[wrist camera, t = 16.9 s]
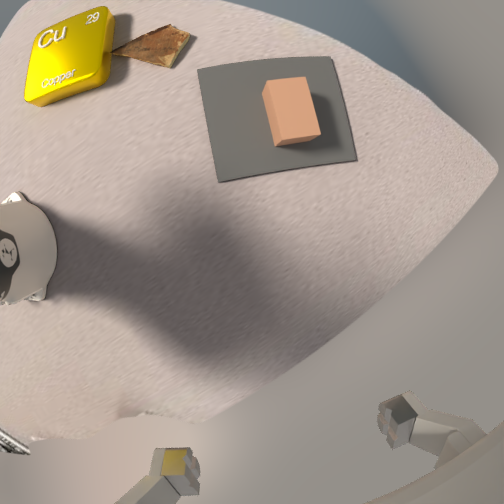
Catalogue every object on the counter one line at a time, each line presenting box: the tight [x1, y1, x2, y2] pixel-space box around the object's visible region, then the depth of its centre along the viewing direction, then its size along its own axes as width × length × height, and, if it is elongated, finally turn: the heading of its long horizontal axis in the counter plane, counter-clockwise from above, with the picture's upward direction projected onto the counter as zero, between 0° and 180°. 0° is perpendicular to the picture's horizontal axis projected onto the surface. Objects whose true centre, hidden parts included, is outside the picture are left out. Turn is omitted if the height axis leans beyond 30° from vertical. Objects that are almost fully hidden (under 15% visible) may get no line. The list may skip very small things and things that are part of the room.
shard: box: [110, 24, 190, 68], centre depth 32 cm, size 11×8×2 cm
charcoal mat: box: [197, 56, 356, 182], centre depth 36 cm, size 20×17×1 cm
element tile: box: [24, 6, 115, 107], centre depth 29 cm, size 15×15×5 cm
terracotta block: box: [262, 77, 321, 147], centre depth 33 cm, size 5×5×8 cm
